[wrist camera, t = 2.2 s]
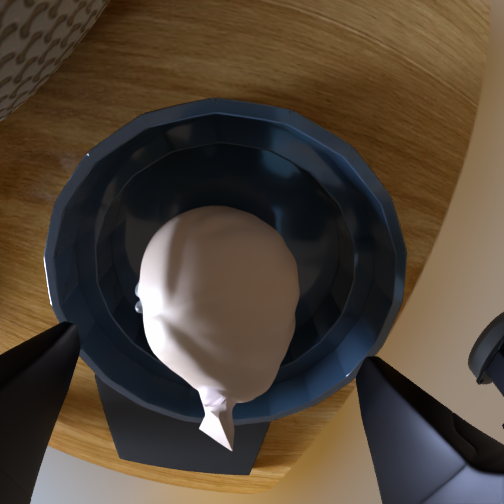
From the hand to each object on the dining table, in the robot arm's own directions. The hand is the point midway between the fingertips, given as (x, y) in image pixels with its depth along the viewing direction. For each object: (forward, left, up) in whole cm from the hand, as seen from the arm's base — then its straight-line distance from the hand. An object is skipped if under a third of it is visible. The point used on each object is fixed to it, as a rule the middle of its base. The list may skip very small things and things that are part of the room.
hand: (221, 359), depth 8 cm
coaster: (+2, +15, -7) cm, 17 cm away
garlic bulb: (0, 0, -7) cm, 7 cm away
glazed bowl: (0, 0, -7) cm, 7 cm away
